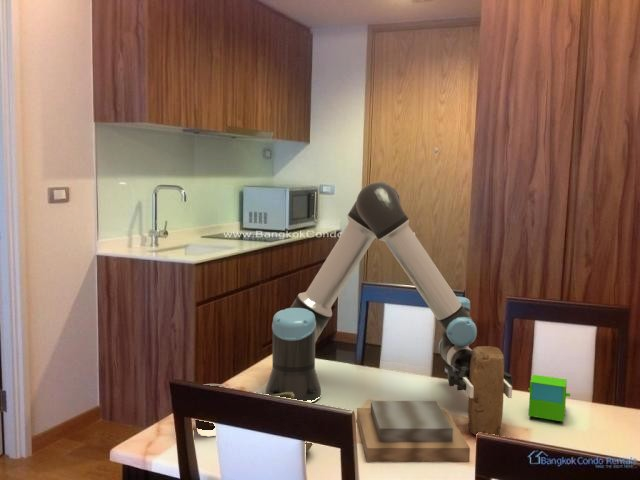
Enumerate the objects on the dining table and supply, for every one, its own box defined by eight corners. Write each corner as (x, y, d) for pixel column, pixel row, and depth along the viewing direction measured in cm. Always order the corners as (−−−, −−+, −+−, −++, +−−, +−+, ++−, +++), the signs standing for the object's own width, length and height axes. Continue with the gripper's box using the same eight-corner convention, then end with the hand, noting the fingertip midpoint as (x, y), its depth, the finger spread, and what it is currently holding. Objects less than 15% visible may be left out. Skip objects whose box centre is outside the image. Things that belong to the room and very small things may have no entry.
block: (502, 440, 136) (507, 356, 134) (469, 437, 138) (473, 354, 136) (496, 421, 147) (501, 343, 145) (465, 419, 148) (469, 341, 146)
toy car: (570, 408, 157) (572, 371, 156) (567, 427, 145) (570, 387, 144) (529, 401, 161) (531, 366, 160) (524, 419, 149) (526, 381, 148)
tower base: (366, 461, 125) (367, 434, 125) (356, 419, 147) (357, 396, 147) (469, 461, 126) (470, 434, 126) (444, 419, 148) (445, 396, 147)
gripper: (502, 375, 160) (535, 408, 137) (424, 375, 159) (445, 408, 137) (503, 348, 159) (536, 376, 136) (425, 348, 158) (446, 376, 136)
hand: (491, 392), depth 137 cm, fingers closed on block, 8 cm apart
